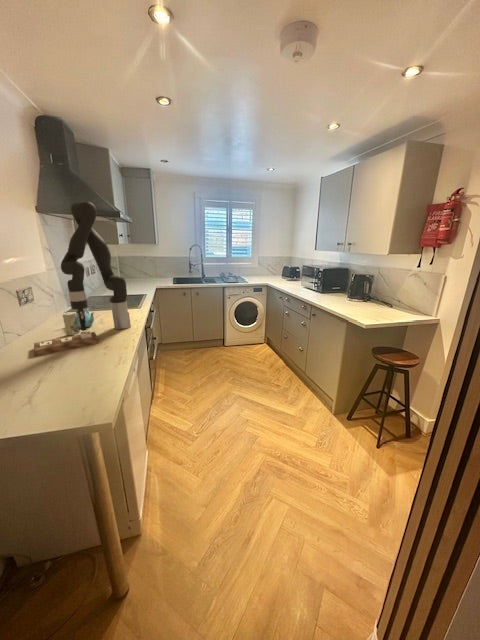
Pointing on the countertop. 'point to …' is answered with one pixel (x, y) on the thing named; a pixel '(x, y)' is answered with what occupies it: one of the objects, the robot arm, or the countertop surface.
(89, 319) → the teapot
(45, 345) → the button two
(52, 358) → the countertop surface
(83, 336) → the button three
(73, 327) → the box
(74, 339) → the button panel
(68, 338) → the button one
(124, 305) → the robot arm
